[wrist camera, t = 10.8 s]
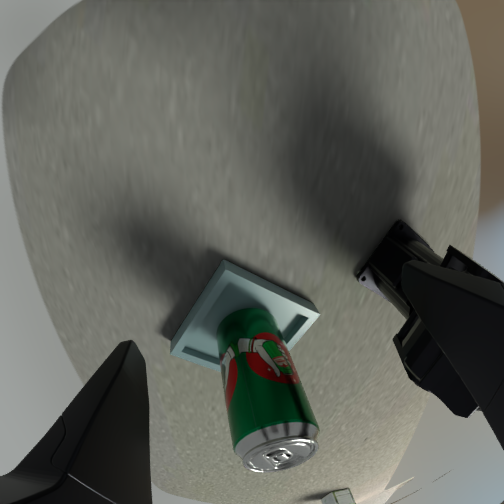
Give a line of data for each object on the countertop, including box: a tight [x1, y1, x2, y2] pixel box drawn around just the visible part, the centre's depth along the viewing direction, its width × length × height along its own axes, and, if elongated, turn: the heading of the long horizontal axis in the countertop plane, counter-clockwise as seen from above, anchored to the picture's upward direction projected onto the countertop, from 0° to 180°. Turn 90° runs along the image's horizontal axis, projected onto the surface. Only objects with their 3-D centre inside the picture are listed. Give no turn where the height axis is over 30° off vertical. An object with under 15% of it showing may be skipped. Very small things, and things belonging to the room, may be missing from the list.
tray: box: [170, 259, 320, 372], centre depth 25 cm, size 9×9×2 cm
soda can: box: [216, 308, 320, 472], centre depth 19 cm, size 5×5×12 cm
